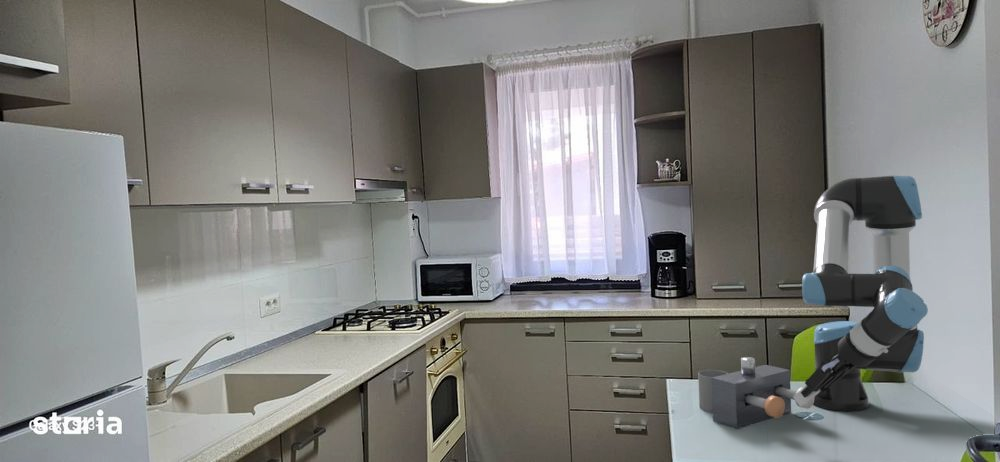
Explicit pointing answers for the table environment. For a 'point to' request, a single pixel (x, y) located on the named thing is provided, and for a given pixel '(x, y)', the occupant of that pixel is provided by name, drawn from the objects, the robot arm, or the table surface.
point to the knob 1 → (768, 404)
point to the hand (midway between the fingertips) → (798, 401)
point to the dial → (748, 365)
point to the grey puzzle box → (735, 387)
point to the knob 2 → (792, 395)
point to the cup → (707, 388)
